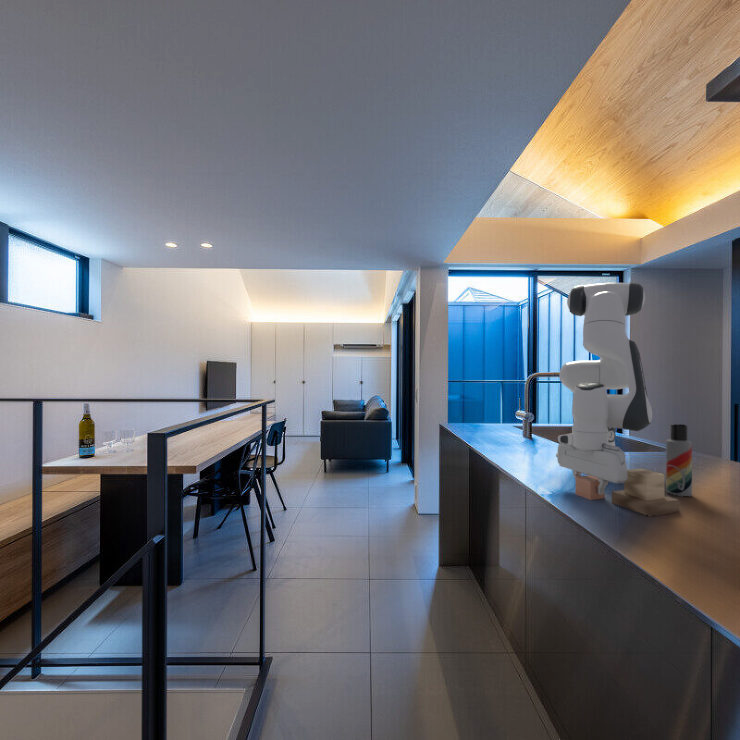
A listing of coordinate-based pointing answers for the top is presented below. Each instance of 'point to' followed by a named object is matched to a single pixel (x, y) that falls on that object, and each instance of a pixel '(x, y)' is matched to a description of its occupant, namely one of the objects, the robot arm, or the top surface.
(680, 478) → the lotion bottle
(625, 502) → the walnut base
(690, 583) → the top surface
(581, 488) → the terracotta block
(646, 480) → the oak cube
